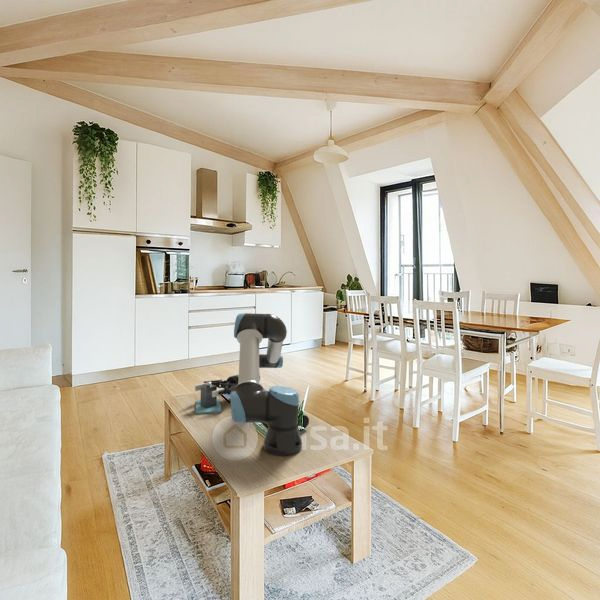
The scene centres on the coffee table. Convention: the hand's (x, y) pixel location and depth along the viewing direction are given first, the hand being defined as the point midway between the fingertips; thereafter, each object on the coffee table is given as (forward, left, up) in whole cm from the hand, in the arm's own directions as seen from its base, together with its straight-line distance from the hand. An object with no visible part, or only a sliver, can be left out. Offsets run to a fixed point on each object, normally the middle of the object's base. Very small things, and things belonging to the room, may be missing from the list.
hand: (203, 391), depth 183 cm
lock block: (+2, -2, -8) cm, 9 cm away
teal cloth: (+3, -2, -9) cm, 10 cm away
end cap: (-28, -40, -9) cm, 50 cm away
